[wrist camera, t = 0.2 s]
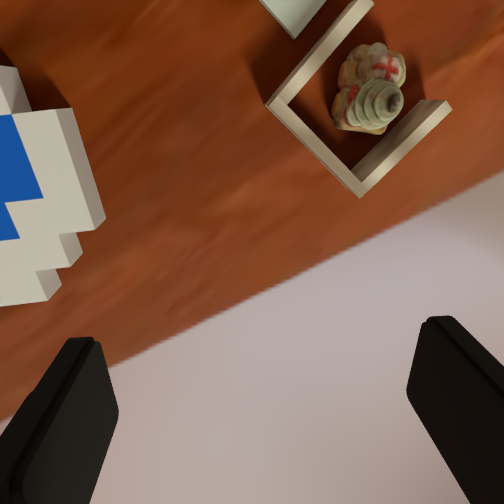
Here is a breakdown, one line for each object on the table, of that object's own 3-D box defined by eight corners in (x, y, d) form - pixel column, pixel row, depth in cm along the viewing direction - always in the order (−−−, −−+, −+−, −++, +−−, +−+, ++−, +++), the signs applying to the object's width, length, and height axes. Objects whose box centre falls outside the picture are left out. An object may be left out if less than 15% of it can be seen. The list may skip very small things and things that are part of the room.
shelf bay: (347, 4, 32) (365, -9, 28) (427, 107, 36) (452, 109, 32) (263, 104, 35) (268, 106, 31) (346, 187, 39) (360, 198, 35)
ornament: (336, 46, 33) (377, 28, 24) (396, 49, 34) (458, 33, 25) (326, 130, 36) (357, 143, 27) (380, 133, 37) (429, 145, 28)
